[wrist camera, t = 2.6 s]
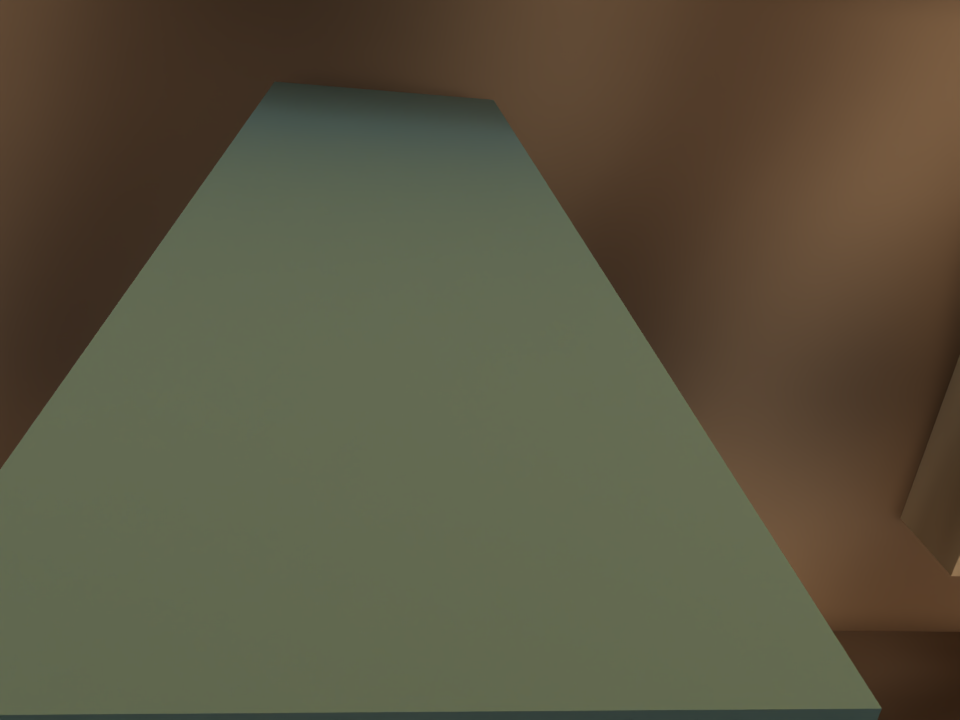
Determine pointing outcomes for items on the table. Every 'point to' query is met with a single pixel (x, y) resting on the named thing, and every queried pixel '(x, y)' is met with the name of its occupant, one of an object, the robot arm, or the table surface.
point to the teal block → (388, 464)
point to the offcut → (939, 485)
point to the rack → (584, 224)
